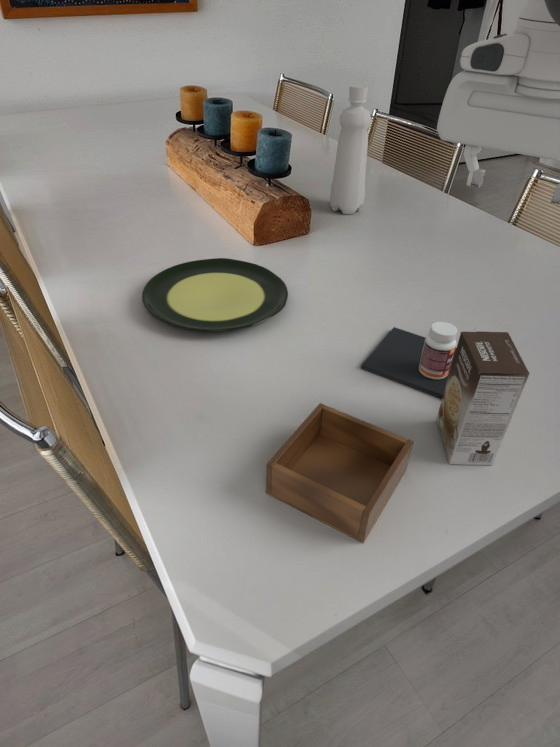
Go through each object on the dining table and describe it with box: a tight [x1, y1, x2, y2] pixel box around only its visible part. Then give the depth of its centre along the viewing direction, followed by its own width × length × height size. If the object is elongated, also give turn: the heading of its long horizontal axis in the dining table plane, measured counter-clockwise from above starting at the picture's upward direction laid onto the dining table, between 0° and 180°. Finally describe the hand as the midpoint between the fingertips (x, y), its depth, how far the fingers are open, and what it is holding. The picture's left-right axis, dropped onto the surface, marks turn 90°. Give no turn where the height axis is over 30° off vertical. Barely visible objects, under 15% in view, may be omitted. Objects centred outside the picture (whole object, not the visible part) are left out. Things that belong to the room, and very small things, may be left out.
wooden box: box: [265, 402, 414, 544], centre depth 69 cm, size 14×14×5 cm
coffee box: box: [435, 330, 531, 466], centre depth 72 cm, size 9×6×16 cm
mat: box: [360, 326, 457, 399], centre depth 91 cm, size 20×14×1 cm
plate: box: [141, 257, 289, 332], centre depth 105 cm, size 28×28×2 cm
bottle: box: [329, 83, 373, 215], centre depth 138 cm, size 9×9×30 cm
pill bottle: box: [419, 321, 458, 380], centre depth 86 cm, size 5×5×8 cm
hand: (514, 194), depth 62 cm, fingers open, 8 cm apart
